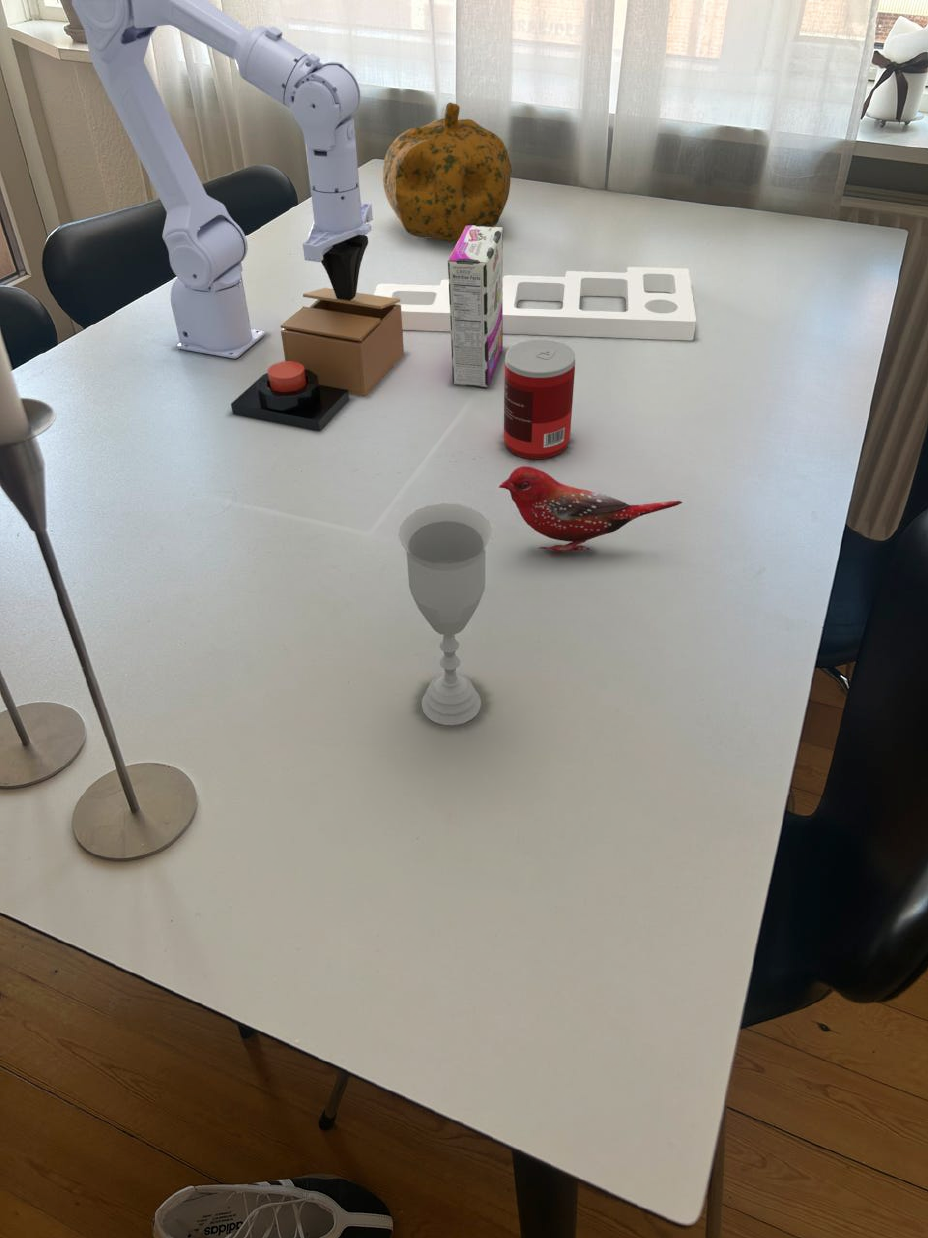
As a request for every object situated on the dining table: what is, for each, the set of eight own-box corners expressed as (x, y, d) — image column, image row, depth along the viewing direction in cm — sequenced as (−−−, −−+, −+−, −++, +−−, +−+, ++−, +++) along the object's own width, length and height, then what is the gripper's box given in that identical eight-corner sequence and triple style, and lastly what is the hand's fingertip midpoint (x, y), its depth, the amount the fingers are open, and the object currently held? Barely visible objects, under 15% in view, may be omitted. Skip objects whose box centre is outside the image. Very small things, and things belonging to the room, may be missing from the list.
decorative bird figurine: (497, 542, 98) (498, 458, 92) (672, 543, 98) (686, 459, 91) (497, 560, 96) (498, 475, 90) (676, 561, 96) (690, 476, 89)
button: (263, 390, 116) (260, 374, 115) (281, 373, 119) (278, 358, 118) (295, 396, 115) (293, 380, 114) (312, 379, 118) (310, 363, 117)
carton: (330, 342, 132) (324, 287, 127) (404, 354, 129) (400, 299, 124) (288, 382, 124) (279, 325, 119) (365, 396, 121) (360, 338, 116)
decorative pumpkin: (393, 200, 171) (395, 76, 157) (510, 215, 170) (522, 91, 156) (369, 248, 157) (368, 116, 143) (496, 265, 156) (509, 133, 142)
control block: (232, 414, 118) (227, 388, 116) (265, 384, 124) (261, 359, 121) (319, 431, 115) (316, 405, 113) (349, 400, 120) (346, 374, 118)
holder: (368, 328, 135) (366, 309, 134) (389, 276, 149) (388, 259, 147) (693, 340, 131) (696, 321, 129) (686, 286, 145) (688, 268, 143)
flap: (324, 290, 127) (324, 287, 127) (400, 301, 124) (400, 298, 124) (302, 296, 123) (302, 293, 122) (380, 308, 119) (381, 306, 119)
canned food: (576, 430, 114) (583, 343, 107) (559, 465, 109) (565, 376, 101) (515, 420, 116) (517, 334, 109) (494, 454, 111) (495, 366, 103)
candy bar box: (467, 346, 131) (465, 223, 120) (503, 349, 130) (505, 225, 119) (449, 386, 123) (446, 257, 112) (488, 389, 122) (488, 260, 111)
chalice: (409, 675, 84) (396, 505, 72) (486, 669, 85) (487, 500, 73) (413, 738, 79) (400, 566, 67) (495, 732, 79) (497, 560, 67)
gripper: (337, 209, 107) (349, 325, 116) (391, 169, 117) (398, 279, 126) (281, 202, 109) (297, 317, 118) (339, 163, 119) (349, 272, 128)
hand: (346, 297), depth 122 cm, fingers closed
